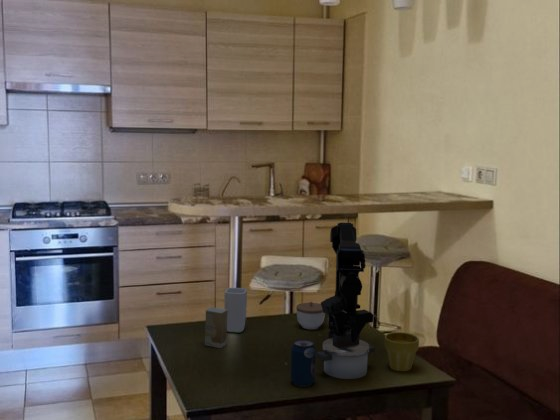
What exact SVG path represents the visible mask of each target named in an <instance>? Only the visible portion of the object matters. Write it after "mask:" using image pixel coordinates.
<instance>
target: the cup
mask: <svg viewBox="0 0 560 420" xmlns="http://www.w3.org/2000/svg"><path fill="white" fill-rule="evenodd" d="M247 302H248V289H247V288H244V287H243V288H242V287H227V289H225V291H224V301H223V303H224V309H225V310H228V313H227V332H228V333H232V334H233V333H235V334H240V333H243V331H244V329H245V325H246V318H247V306H248V304H247Z"/></svg>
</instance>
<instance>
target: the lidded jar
mask: <svg viewBox="0 0 560 420" xmlns="http://www.w3.org/2000/svg"><path fill="white" fill-rule="evenodd" d="M325 315H326V313H323V310H322V306H321V303H316V302H313V301H309V302H301V303H299V304H297V305H296V318H297V322H298V323H299V325H300V326H301V328H303V329H306V330H309V331H310V330H318V329H319V327H321V326H322V324H323V323H324V320H325V317H326V316H325Z"/></svg>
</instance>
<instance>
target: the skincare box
mask: <svg viewBox="0 0 560 420" xmlns="http://www.w3.org/2000/svg"><path fill="white" fill-rule="evenodd" d="M227 313H228V310H225V308H224V309H223V308H218V307H217V308H216V307H209V308H208V309H206V310H205V322H204V323H205V324H204V325H205V327H204V329H205V330H204V332H205V333H204V346H207V347H212V348H217V349H222V348H224V347H225V346H226V345H227V339H228V338H227V336H228V335H227V334H228V333H227V332H228V331H227Z"/></svg>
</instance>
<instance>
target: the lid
mask: <svg viewBox="0 0 560 420" xmlns="http://www.w3.org/2000/svg"><path fill="white" fill-rule="evenodd" d="M360 335H361V333H360V334H359V336H358V338H357V339H356V341H355V342H352V339H351V330H350V331H348V332H341V333H335V334H333V338H330V339H329V338H327V339H326V340H324V341H323V342H322V350H323V351H326V352H327V353H330V354H332V355H336V356H343V357H356V356H362V355H365V354H367V353H368V352H369V345H370V344H369V343H368V342H367V341H365V340H363V339H360V338H361V337H360ZM368 354H369V353H368Z"/></svg>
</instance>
